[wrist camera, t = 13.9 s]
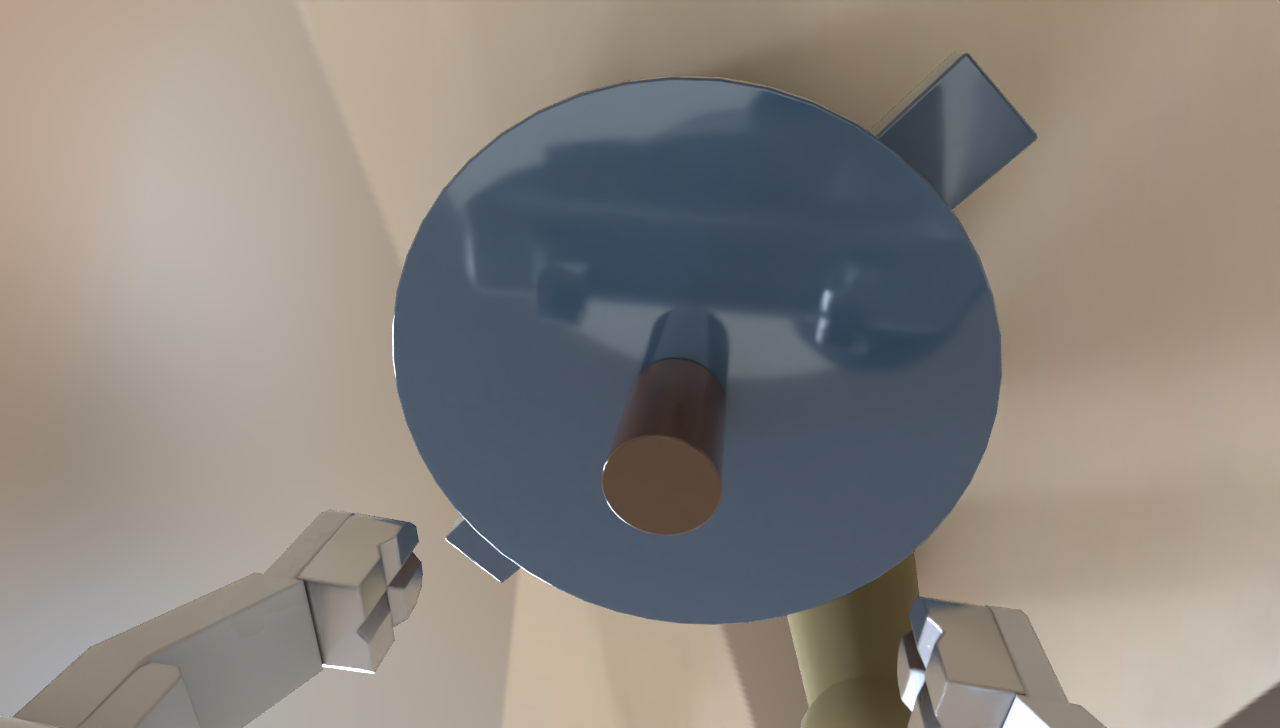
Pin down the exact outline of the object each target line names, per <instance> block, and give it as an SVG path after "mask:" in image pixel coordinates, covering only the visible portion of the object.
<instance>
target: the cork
mask: <svg viewBox="0 0 1280 728" xmlns="http://www.w3.org/2000/svg"><path fill="white" fill-rule="evenodd" d="M917 596H918V597H919V590H918V581H917V573H916V565H915V559H914V555H913V552H912V553H911V554H910V555H908V556H907V557H906V558H905V559H904V560H903V561H901V562H900V563H898V564H897V565H896V566H894V567H893V568H891V569H890V570H888V571H887V572H885V573H884V574H882V575H881V576H880V577H878V578H877V579H875V580H874V581H872V582H870V583H868V584H866V585H864V586H862V587H860V588H858V589H856V590H855V591H853V592H851V593H849V594H847V595H845V596H843V597H840V598H838V599H835V600H833V601H830V602H827V603H825V604H822V605H820V606H817V607H815V608H812V609H808V610H805V611H801V612H797V613H794V614H790V615H787V617H788V621H789V626H790V630H791V634H792V638H793V642H794V647H795V651H796V655H797V659H798V663H799V668H800V672H801V676H802V680H803V684H804V688H805V693H806V697H807V701H808V705H809V709H808V711H807V712H806V714H805V715H804V717H803V719H802V723H801V727H800V728H907V726H908V723H909V719H910V716H911V713H912V711H911V710H910V709H909V708H908V707H907V706H906V705H905V704H904V702H903V701H902V700H901V696H900V691H899V686H898V677H897V662H898V651H899V647H900V643H901V639H902V636H903V635H905V634H906V633H908V632H909V631H911V630H912V626H911V622H910V618H909V612H910V609H911V606H912V603H913V601H914V600H915V599H916V597H917Z"/></svg>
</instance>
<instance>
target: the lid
mask: <svg viewBox="0 0 1280 728" xmlns="http://www.w3.org/2000/svg"><path fill="white" fill-rule="evenodd" d="M392 338H393V339H392V340H393V364H394V371H395V378H396V385H397V391H398V395H399V399H400V402H401V406H402V409H403V413H404V416H405V420H406V423H407V426H408V428H409V431H410V433H411V435H412V437H413V440H414V442H415V445H416V447H417V449H418V452H419V454H420V456H421V458H422V459H423V461H424V463H425V464H426V466H427V468H428V470H429V471H430V473H431V475H432V477H433V478H434V480H435V482H436V483H437V485H438V486H439V487H440V489H441V490H442V491H443V493H444V494H445V496H446V497H447V498H448V500H449V501H450V502H451V504H452V505H453V506H454V508H455V509H456V510H457V511H458V512H459V513H460V514H461V515H462V516H463V518H464V519H465V520H466V521H467V522H468V523H469V524H470V525H471V526H472V527H473V528H474V529H475V530H476V532H477V533H479V534H480V535H481V536H482V537H483V538H484V539H485V540H487V541H488V542H489V543H490V544H491V545H492V546H493V547H495V548H496V549H497V550H498V551H499V552H500V553H501V554H503V555H504V556H506V557H507V558H509V559H510V560H511V561H513V562H514V563H516V564H517V565H518V566H520V567H521V568H523V569H524V570H526V571H527V572H528V573H530V574H532V575H534V576H536V577H537V578H539V579H541V580H543V581H544V582H546V583H548V584H550V585H551V586H553V587H555V588H557V589H559V590H561V591H564V592H566V593H568V594H570V595H573V596H575V597H577V598H579V599H582V600H584V601H586V602H589V603H592V604H595V605H598V606H601V607H604V608H607V609H610V610H613V611H616V612H620V613H624V614H629V615H633V616H637V617H642V618H646V619H652V620H659V621H667V622H674V623H684V624H712V625H716V624H731V623H747V622H754V621H760V620H766V619H772V618H778V617H783V616H786V615H790V614H794V613H797V612H801V611H805V610H808V609H812V608H815V607H817V606H820V605H822V604H825V603H827V602H830V601H833V600H835V599H838V598H840V597H843V596H845V595H847V594H849V593H851V592H853V591H855V590H856V589H858V588H860V587H862V586H864V585H866V584H868V583H870V582H872V581H874V580H875V579H877V578H878V577H880V576H881V575H882V574H884V573H885V572H887V571H888V570H890V569H891V568H893V567H894V566H896V565H897V564H898V563H900V562H901V561H903V560H904V559H905V558H906V557H907V556H908V555H910V554H911V553H912V552H913V551H914V550H915V549H916V548H917V547H919V546H920V545H921V544H922V543H923V542H924V541H925V540H926V539H928V538H929V536H930V535H931V534H932V533H933V532H934V531H935V530H936V528H937V527H938V526H939V525H940V524H941V523H942V522H943V520H944V519H945V518H946V517H947V516H948V515H949V513H950V512H951V511H952V510H953V508H954V507H955V505H956V503H957V502H958V500H959V499H960V497H961V496H962V494H963V493H964V491H965V490H966V488H967V487H968V485H969V484H970V482H971V480H972V478H973V476H974V474H975V472H976V469H977V467H978V465H979V463H980V461H981V459H982V457H983V454H984V452H985V450H986V447H987V444H988V441H989V437H990V434H991V430H992V427H993V424H994V420H995V417H996V413H997V407H998V399H999V392H1000V384H1001V377H1002V364H1001V334H1000V329H999V324H998V318H997V313H996V307H995V302H994V297H993V294H992V291H991V288H990V285H989V282H988V280H987V277H986V274H985V271H984V269H983V266H982V263H981V260H980V257H979V255H978V254H977V252H976V250H975V248H974V246H973V244H972V243H971V241H970V239H969V237H968V235H967V233H966V232H965V230H964V228H963V226H962V224H961V223H960V221H959V219H958V218H957V216H956V215H955V214H954V212H953V211H952V210H951V208H950V207H949V206H948V205H947V203H946V202H945V201H944V199H943V198H942V197H941V196H940V194H939V193H938V192H937V190H936V189H935V188H934V186H933V185H932V184H931V183H930V182H929V181H928V180H927V179H926V178H925V177H924V176H923V175H922V174H921V173H920V172H919V171H918V170H917V169H916V168H914V167H913V166H912V165H911V164H910V163H909V162H908V161H907V160H906V159H905V158H904V157H903V156H902V155H901V154H900V153H899V152H898V151H896V150H895V149H894V148H892V147H891V146H889V145H888V144H887V143H885V142H884V141H882V140H881V139H879V138H878V137H877V136H875V135H874V134H872V133H871V132H869V131H868V130H867V129H865V128H864V127H862V126H861V125H859V124H858V123H857V122H855V121H853V120H851V119H849V118H847V117H845V116H843V115H841V114H839V113H837V112H835V111H833V110H831V109H829V108H827V107H825V106H823V105H821V104H819V103H817V102H815V101H813V100H810V99H807V98H804V97H801V96H798V95H795V94H792V93H789V92H786V91H783V90H780V89H777V88H774V87H771V86H768V85H762V84H757V83H751V82H746V81H740V80H734V79H729V78H723V77H703V76H665V77H656V78H647V79H637V80H628V81H624V82H620V83H617V84H613V85H609V86H605V87H601V88H597V89H593V90H589V91H585V92H582V93H579V94H577V95H574V96H572V97H569V98H567V99H565V100H562V101H560V102H558V103H555V104H553V105H550V106H548V107H546V108H543V109H541V110H538V111H537V112H535V113H533V114H532V115H530V116H528V117H527V118H525V119H524V120H522V121H520V122H519V123H517V124H515V125H514V126H512V127H510V128H509V129H507V130H505V131H504V132H502V133H501V134H499V135H498V136H497V137H496V138H495V139H493V140H492V141H491V142H490V143H489V144H487V145H486V146H485V147H484V148H483V149H481V150H480V151H479V152H478V153H477V154H475V155H474V156H473V157H472V158H471V159H469V161H468V162H467V163H466V164H465V165H464V166H463V167H462V168H461V170H460V171H459V172H458V173H457V174H456V175H455V176H454V177H453V179H452V180H451V181H450V182H449V183H448V184H447V185H446V186H445V188H444V189H443V190H442V191H441V193H440V195H439V196H438V198H437V199H436V201H435V202H434V204H433V205H432V207H431V208H430V210H429V212H428V213H427V215H426V216H425V218H424V219H423V221H422V223H421V225H420V227H419V229H418V232H417V234H416V236H415V238H414V240H413V243H412V245H411V247H410V249H409V251H408V254H407V256H406V260H405V263H404V267H403V270H402V274H401V277H400V281H399V285H398V288H397V294H396V301H395V309H394V317H393V325H392Z"/></svg>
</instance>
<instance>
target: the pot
mask: <svg viewBox="0 0 1280 728" xmlns="http://www.w3.org/2000/svg"><path fill="white" fill-rule="evenodd" d="M869 132H871V133H872V134H874V135H875V136H877V137H878V138H879V139H881V140H882V141H884V142H885V143H887V144H888V145H889V146H891V147H892V148H894V149H895V150H896V151H898V152H899V153H900V154H901V155H902V156H903V157H904V158H905V159H906V160H907V161H908V162H909V163H910V164H911V165H912V166H913V167H914V168H916V169H917V170H918V171H919V172H920V173H921V174H922V175H923V176H924V177H925V178H926V179H927V180H928V181H929V182H930V183H931V184H932V185H933V186H934V188H935V189H936V190H937V192H938V193H939V194H940V196H941V197H942V198H943V199H944V201H945V202H946V203H947V205H948V206H949V207H950V208H951V210H952V209H954V208H955V207H956V206H957V205H958V204H960V203H961V202H962V201H963V200H964V199H966V198H967V197H968V196H969V195H970V194H972V193H973V192H974V191H975V190H976V189H978V188H979V187H980V186H981V185H982V184H984V183H985V182H986V181H987V180H988V179H990V178H991V177H992V176H993V175H994V174H996V173H997V172H998V171H999V170H1000V169H1002V168H1003V167H1004V166H1005V165H1007V164H1008V163H1009V162H1010V161H1011V160H1013V159H1014V158H1015V157H1016V156H1017V155H1019V154H1020V153H1021V152H1022V151H1023V150H1025V149H1026V148H1027V147H1028V146H1029V145H1031V144H1032V143H1033V142H1034V141H1035V140H1036V139H1037V138H1038V137H1037V134H1036V132H1035V131H1034V130H1033V129H1032V128H1031V127H1030V125H1029V124H1028V123H1027V122H1026V121H1025V119H1024V118H1023V117H1022V116H1021V115H1020V113H1019V112H1018V111H1017V110H1016V109H1015V108H1014V106H1013V105H1012V104H1011V103H1010V102H1009V100H1008V99H1007V98H1006V97H1005V96H1004V94H1003V93H1002V92H1001V91H1000V90H999V89H998V87H997V86H996V85H995V84H994V83H993V81H992V80H991V79H990V78H989V77H988V75H987V74H986V73H985V72H984V71H983V70H982V68H981V67H980V66H979V65H978V64H977V62H976V61H975V60H974V59H973V58H972V56H971V55H970V54H968V53H962V52H954V53H952V54H951V55H950V56H949V57H948V58H947V59H946V60H944V61H943V62H942V63H941V64H940V65H939V66H938V67H937V68H936V69H935V70H934V71H933V72H932V73H931V74H930V75H929V76H927V77H926V78H925V79H924V80H923V81H922V82H921V83H920V84H919V85H918V86H917V87H916V88H915V89H914V90H913V91H911V92H910V93H909V94H908V95H907V96H906V97H905V98H904V99H903V100H902V101H901V102H900V103H899V104H898V105H897V106H896V107H894V108H893V109H892V110H891V111H890V112H889V113H888V114H887V115H886V116H885V117H884V118H883V119H882V120H881V121H880V122H879V123H877V124H876V125H875V126H874V127H873V128H872V129H871V130H870V131H869ZM445 539H446V541H447V542H449V543H450V544H452V545H453V546H454V547H455V548H457V549H458V550H459V551H460V552H462V553H463V554H464V555H466V556H467V557H468V558H469V559H471V560H472V561H473V562H475V563H476V564H477V565H479V566H480V567H481V568H482V569H484V570H485V571H486V572H487V573H489V574H490V575H491V576H493V577H494V578H495V579H497V580H498V581H499V582H504V581H505V580H506V579H508V578H509V577H510V576H511V575H513V574H514V573H515V572H516V571H517V570H519V569H520V568H521V567H520V566H518V565H517V564H516V563H514V562H513V561H511V560H510V559H509V558H507V557H506V556H504V555H503V554H501V553H500V552H499V551H498V550H497V549H496V548H495V547H493V546H492V545H491V544H490V543H489V542H488V541H487V540H485V539H484V538H483V537H482V536H481V535H480V534H479V533H477V532H476V530H475V529H474V528H473V527H472V526H471V525H470V524H469V523H468V522H467V521H466V520H465V519H464V518H463V516H462V515H461V516H459V517H458V518H457V519H456V520H455V522H454V524H453V525H452V527H451V529H450V530H449V532H448V534H447V535H446V537H445Z"/></svg>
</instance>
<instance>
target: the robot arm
mask: <svg viewBox="0 0 1280 728" xmlns="http://www.w3.org/2000/svg"><path fill="white" fill-rule="evenodd" d="M418 542H419V540H418V535H417V529H416V526H415V525H414V524H412V523H410V522H404V521H399V520H393V519H387V518H381V517H375V516H370V515H364V514H358V513H357V514H354V513H348V512H343V511H337V510H331V509H329V510H327V511H324V512H322V513H320V514H319V515H318V517H317V518H316V519H315V520H314V521H313V522H312V523H311V524H310V525H309V526H308V527H307V528H306V529H305V530H304V531H303V532H302V534H301V535H300V536H299V537H298V538H297V539H296V540H295V541H294V542H293V543H292V544H291V545H290V546H289V547H288V548H287V550H286V551H285V552H284V553H283V554H282V555H281V556H280V557H279V558H278V559H277V560H276V561H275V562H274V563H273V564H272V565H271V566H270V568H269V569H268V570H267V571H266V572H265V573H264V574H261V573H253V574H251V575H249V576H246V577H244V578H242V579H240V580H238V581H235V582H233V583H231V584H229V585H226V586H225V587H222V588H220V589H218V590H215V591H213V592H211V593H209V594H207V595H204V596H202V597H200V598H198V599H196V600H193V601H191V602H189V603H187V604H185V605H182V606H180V607H178V608H176V609H173V610H171V611H169V612H167V613H165V614H162V615H160V616H158V617H156V618H154V619H151V620H149V621H147V622H145V623H143V624H140V625H138V626H136V627H134V628H132V629H129V630H127V631H125V632H123V633H120V634H118V635H116V636H114V637H112V638H109V639H107V640H105V641H103V642H101V643H98V644H96V645H94V646H92V647H90V648H88V649H87V651H85V652H84V653H83V654H82V655H81V656H80V657H78V658H77V659H76V660H75V661H74V662H73V663H72V664H71V665H70V666H68V667H67V668H66V669H65V670H64V671H63V672H62V673H61V674H60V675H58V676H57V677H56V678H55V679H54V680H53V681H52V682H51V683H50V684H48V685H47V686H46V687H45V688H44V689H43V690H42V691H41V692H40V693H38V694H37V695H36V696H35V697H34V698H33V699H32V700H31V701H30V702H28V703H27V704H26V705H25V706H24V707H23V708H22V709H21V710H20V711H18V712H17V713H16V714H15V715H14V716H13V717H8V716H3V715H0V728H243V727H244V726H245V725H247V724H248V723H249V722H251V721H252V720H254V719H255V718H256V717H258V716H259V715H261V714H262V713H263V712H265V711H266V710H267V709H269V708H270V707H272V706H273V705H274V704H276V703H277V702H279V701H280V700H282V699H283V698H284V697H286V696H287V695H288V694H290V693H291V692H293V691H294V690H295V689H297V688H298V687H300V686H301V685H302V684H304V683H305V682H307V681H308V680H309V679H311V678H312V677H313V676H315V675H316V674H318V673H319V672H321V671H322V670H323V666H325V667H332V668H339V669H346V670H352V671H359V672H366V673H373V674H374V673H375V671H376V670H377V668H378V666H379V665H380V663H381V662H382V660H383V658H384V657H385V655H386V653H387V652H388V650H389V649H390V647H391V645H392V644H393V642H394V632H393V627H394V626H396V625H398V624H400V623H401V622H403V621H405V620H406V619H408V617H409V616H410V614H411V612H412V611H413V609H414V607H415V605H416V603H417V599H418V597H419V593H420V590H421V587H422V575H423V573H422V564H421V561H420V560H419V559H418V558H417V557H416V555H415V554H414V553H413V552H412V551H413V549H414V548H415V546H416V545H417V543H418ZM909 618H910V622H911V626H912V630H911V631H909V632H908V633H906V634H905V635H903V636H902V639H901V643H900V647H899V651H898V662H897V677H898V686H899V691H900V696H901V700H902V701H903V702H904V704H905V705H906V706H907V707H908V708H909V709H910V710H911V711H912V713H911V716H910V719H909V723H908V726H907V728H1106V727H1105V726H1104V725H1103V724H1102V723H1101V722H1099V721H1098V720H1097V719H1096V718H1095V717H1094V716H1092V715H1091V714H1090V713H1089V712H1088V711H1087V710H1085V709H1084V708H1083V707H1082V706H1081V705H1077V704H1071V703H1069V702H1068V700H1067V698H1066V695H1065V693H1064V691H1063V689H1062V687H1061V685H1060V683H1059V681H1058V679H1057V677H1056V675H1055V673H1054V670H1053V668H1052V666H1051V664H1050V662H1049V660H1048V658H1047V656H1046V654H1045V652H1044V650H1043V648H1042V645H1041V643H1040V641H1039V639H1038V637H1037V635H1036V633H1035V631H1034V629H1033V627H1032V625H1031V623H1030V620H1029V618H1028V616H1027V615H1026V614H1025V613H1024V612H1023V611H1022V610H1018V609H1010V608H1002V607H995V606H987V605H986V606H982V605H976V604H969V603H962V602H954V601H947V600H940V599H933V598H926V597H918V596H917V597H916V599H915V600H914V601H913V603H912V606H911V609H910V612H909Z"/></svg>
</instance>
